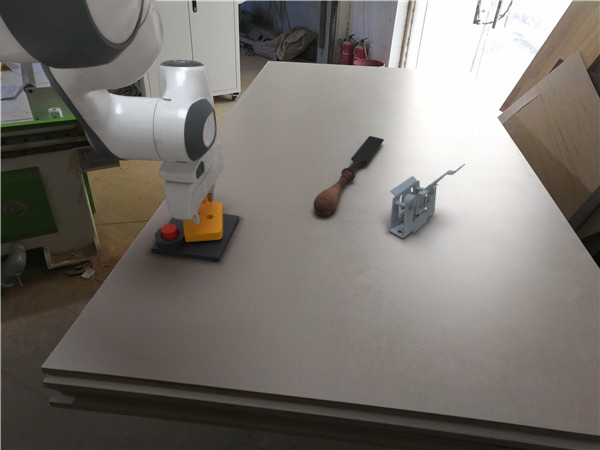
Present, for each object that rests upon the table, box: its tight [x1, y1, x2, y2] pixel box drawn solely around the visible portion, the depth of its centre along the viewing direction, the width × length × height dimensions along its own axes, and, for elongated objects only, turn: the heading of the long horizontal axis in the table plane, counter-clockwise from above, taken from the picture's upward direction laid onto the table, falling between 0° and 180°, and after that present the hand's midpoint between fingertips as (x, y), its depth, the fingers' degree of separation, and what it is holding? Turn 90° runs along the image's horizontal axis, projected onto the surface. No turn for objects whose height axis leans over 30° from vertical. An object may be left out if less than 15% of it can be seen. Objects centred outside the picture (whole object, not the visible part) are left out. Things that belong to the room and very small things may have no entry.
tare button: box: [160, 223, 178, 240], centre depth 81 cm, size 3×3×2 cm
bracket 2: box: [388, 163, 466, 239], centre depth 86 cm, size 13×10×15 cm
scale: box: [150, 213, 240, 263], centre depth 85 cm, size 14×14×3 cm
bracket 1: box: [183, 195, 224, 242], centre depth 82 cm, size 11×7×12 cm, turn 8°
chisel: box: [313, 135, 385, 216], centre depth 105 cm, size 5×43×5 cm, turn 154°
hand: (203, 210), depth 83 cm, fingers open, 6 cm apart
